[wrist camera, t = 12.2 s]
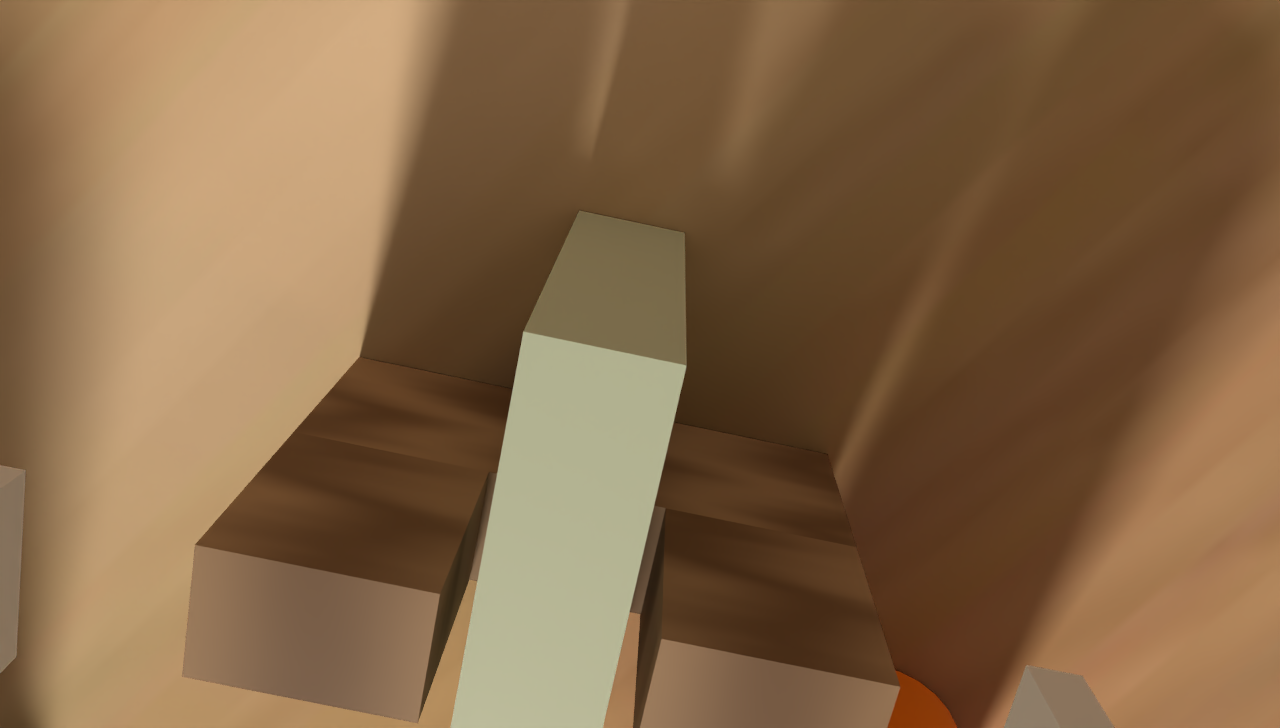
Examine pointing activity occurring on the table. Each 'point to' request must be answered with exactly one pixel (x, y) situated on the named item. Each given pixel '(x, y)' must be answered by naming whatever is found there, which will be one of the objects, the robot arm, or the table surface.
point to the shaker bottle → (918, 707)
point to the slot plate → (577, 479)
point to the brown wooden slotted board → (452, 551)
